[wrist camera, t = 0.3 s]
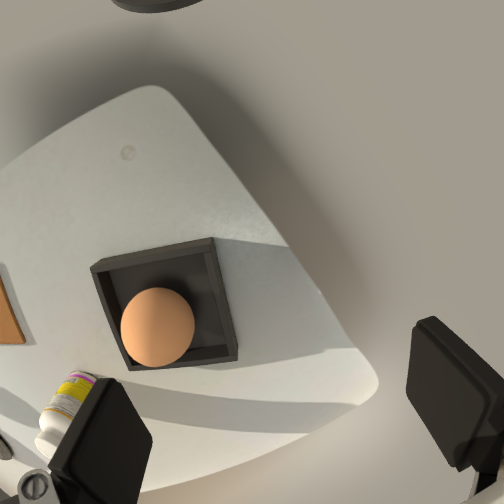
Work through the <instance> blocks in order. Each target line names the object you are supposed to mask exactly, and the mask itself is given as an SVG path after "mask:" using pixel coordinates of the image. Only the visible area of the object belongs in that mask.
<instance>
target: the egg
mask: <svg viewBox="0 0 504 504" xmlns="http://www.w3.org/2000/svg"><path fill="white" fill-rule="evenodd" d="M194 330H195V322H194V316H193V313H192V310H191V307H190V306H189V304H188V303H187V301H186V300H185V299H184V298H183V297H182V296H181V295H180V294H178V293H176V292H175V291H173V290H170V289H166V288H150V289H147V290H144V291H142V292H140V293H139V294H137V295H136V296H135V297H134V298H133V299H132V300H131V301H130V302H129V304H128V305H127V307H126V309H125V310H124V313H123V316H122V320H121V337H122V341H123V344H124V346H125V348H126V350H127V352H128V354H129V355H130V356H131V357H132V358H133V359H134V360H135V361H137V362H139V363H140V364H142V365H145V366H148V367H159V366H165V365H167V364H170V363H172V362H174V361H176V360H177V359H178V358H180V357H181V356H182V355H183V354H184V353H185V351H186V350H187V349H188V347H189V346H190V343H191V341H192V338H193V334H194Z"/></svg>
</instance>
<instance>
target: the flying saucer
mask: <svg viewBox="0 0 504 504" xmlns="http://www.w3.org/2000/svg"><path fill="white" fill-rule="evenodd" d="M0 459H1V460H10V459H12V455H11V453H10V451H9V449H8V448H7V446H6V445H5V444H4V442H3V441H2V440H1V439H0Z"/></svg>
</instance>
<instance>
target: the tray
mask: <svg viewBox="0 0 504 504" xmlns="http://www.w3.org/2000/svg"><path fill="white" fill-rule="evenodd" d="M90 271H91V274H92V277H93V280H94V283H95V286H96V289H97V292H98V295H99V298H100V301H101V304H102V306H103V309H104V312H105V315H106V317H107V320H108V322H109V325H110V328H111V330H112V333H113V335H114V337H115V340H116V342H117V345H118V347H119V349H120V352H121V354H122V356H123V359H124V361H125V363H126V365H127V367H128V370H129V371H141V370H156V369H169V368H180V367H190V366H200V365H208V364H216V363H224V362H231V361H237V360H238V344H237V340H236V336H235V332H234V328H233V324H232V319H231V315H230V311H229V307H228V302H227V298H226V294H225V289H224V285H223V281H222V276H221V272H220V267H219V263H218V258H217V254H216V249H215V244H214V240H213V237H210V238H204V239H199V240H194V241H189V242H184V243H179V244H173V245H168V246H163V247H158V248H153V249H148V250H143V251H138V252H133V253H129V254H124V255H119V256H114V257H109V258H105V259H101V260H99V261H98V262H97V263H95V264H94V265H92V266H91V267H90ZM150 288H166V289H170V290H173V291H175V292H176V293H178V294H180V295H181V296H182V297H183V298H184V299H185V300H186V301H187V303H188V304H189V306H190V307H191V310H192V313H193V316H194V322H195V330H194V334H193V338H192V341H191V343H190V346H189V347H188V349H187V350H186V351H185V353H184V354H183V355H182V356H181V357H180V358H178V359H177V360H176V361H174V362H172V363H170V364H167V365H165V366H159V367H148V366H145V365H142V364H140V363H139V362H137V361H135V360H134V359H133V358H132V357H131V356H130V355H129V354H128V352H127V350H126V348H125V346H124V344H123V341H122V337H121V320H122V316H123V313H124V310H125V309H126V307H127V305H128V304H129V302H130V301H131V300H132V299H133V298H134V297H135V296H136V295H137V294H139V293H140V292H142V291H144V290H147V289H150Z"/></svg>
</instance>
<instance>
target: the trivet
mask: <svg viewBox="0 0 504 504" xmlns="http://www.w3.org/2000/svg"><path fill="white" fill-rule="evenodd" d="M25 342H26V340H25V338H24V336H23V334H22V332H21V329H20V327H19V325H18V322H17V320H16V318H15V315H14V313H13V310H12V308H11V305H10V303H9V300H8V297H7V295H6V292H5V289H4V286H3V283H2V280H1V277H0V344H24V343H25Z"/></svg>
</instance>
